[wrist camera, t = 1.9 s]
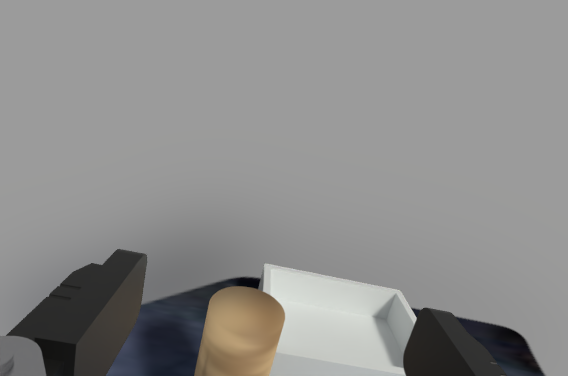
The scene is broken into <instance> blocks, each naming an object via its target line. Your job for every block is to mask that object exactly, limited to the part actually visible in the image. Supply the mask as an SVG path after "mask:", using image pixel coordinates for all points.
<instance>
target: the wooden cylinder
mask: <svg viewBox="0 0 568 376" xmlns="http://www.w3.org/2000/svg"><path fill="white" fill-rule="evenodd" d="M284 321H285V312H284V309H283V307H282V306H281V304H280V303H279V302H278V301H277V300H276V299H275V298H273V297H272V296H271V295H269V294H267V293H265V292H263V291H261V290H258V289H255V288H250V287H242V286H235V287H228V288H224V289H222V290H220V291H218V292H216V293H215V294H214V295H213V296H212V298H211V299H210V302H209V307H208V311H207V316H206V321H205V326H204V330H203V335H202V340H201V345H200V350H199V354H198V359H197V364H196V369H195V374H194V376H269V374H270V371H271V367H272V364H273V360H274V357H275V353H276V350H277V346H278V342H279V339H280V335H281V332H282V328H283V325H284Z"/></svg>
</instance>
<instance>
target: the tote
mask: <svg viewBox="0 0 568 376" xmlns="http://www.w3.org/2000/svg"><path fill="white" fill-rule="evenodd" d="M258 290H261V291H263V292H265V293H267V294H269V295H271V296H272V297H273V298H275V299H276V300H277V301H278V302H279V303H280V304H281V306H282V307H283V309H284V312H285V321H284V325H283V328H282V332H281V335H280V339H279V342H278V346H277V350H276V353H275V357H274V360H273V364H272V367H271V371H270V374H269V376H406V375H405V372H404V367H403V355H404V350H405V348H406V345H407V342H408V340H409V337H410V335H411V332H412V330H413V327H414V324H415V322H416V319H417V318H416V316H415V315H414V313H413V311H412V309H411V308H410V306H409V304H408V303H407V301H406V300H405V298H404V296H403V294H402V293H401V291H400V290H395V289H391V288H386V287H381V286H376V285H370V284H366V283H361V282H356V281H350V280H346V279H341V278H335V277H331V276H326V275H320V274H316V273H310V272H305V271H301V270H296V269H291V268H285V267H281V266H275V265H271V264H264V268H263V272H262V276H261V280H260V284H259V288H258Z"/></svg>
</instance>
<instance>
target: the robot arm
mask: <svg viewBox="0 0 568 376" xmlns="http://www.w3.org/2000/svg"><path fill="white" fill-rule="evenodd" d="M146 265H147V255H146V254H143V253H137V252H132V251H126V250H121V249H117V250H116V251H115V252H114V253H113V254H112V255H111V256H110V258H108V260H107V261H106V262H105V263H104V264H103V265H99V264H94V263H91V264H89V265H87V266H85V267H83V268H81V269H79V270H76V271H74V272H72V274H70V275H69V276H68V277H67V278H66V279H65V280H64V281H63V282H62V283H61V284H60V287H59V286H58V287H57V288H56V289H55V290H53V291H52V292H51V293H50V295H49V297H46V298H45V299H44V300H43V301H42V302H41V303H40V304H39V305H38V306H37V307H36V308H35V309H34V310H32V312H30V313H29V314H28V315H27V316H26V317H25V318H24V319H23V320H22V321H21V322H20V323H19V324H18V325H17V326H16V327H15V328H13V329H12V330H11V331H10V332H9V333H8V334H7V335H6V336H0V376H106V374H107V372H108V371H109V369H110V367H111V365H112V364H113V362H114V360H115V358H116V357H117V355H118V353H119V351H120V350H121V348H122V346H123V344H124V343H125V341H126V339H127V337H128V336H129V334H130V332H131V330H132V329H133V327H134V325H135V322H136V320H137V317H138V314H139V311H140V307H141V301H142V294H143V287H144V279H145V272H146ZM403 367H404V372H405V375H406V376H506V373H505V372H504V371H503V370H502V368H501V367H500V366H499V365H497V364H496V361H495V360H494V358H493V357H492V356H491V355H490V353H489V352H488V351H487V350H486V348H485V347H484V346H483V345H481V344H480V343H479V342H478V341H477V340H475V339H474V338H473V337H472V336H471V335H469V334H468V333H467V331H466V330H465V329H464V328H463V326H462V325H461V324H460V322H459V321H458V320H457V319H456V317H455V316H454V315H453V314H452V313H450V312H446V311H440V310H436V309H430V308H423V309H422V310H421V311H420V312H419V314H418V317H417V319H416V322H415V324H414V327H413V330H412V332H411V335H410V337H409V340H408V342H407V345H406V348H405V350H404V355H403Z"/></svg>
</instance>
